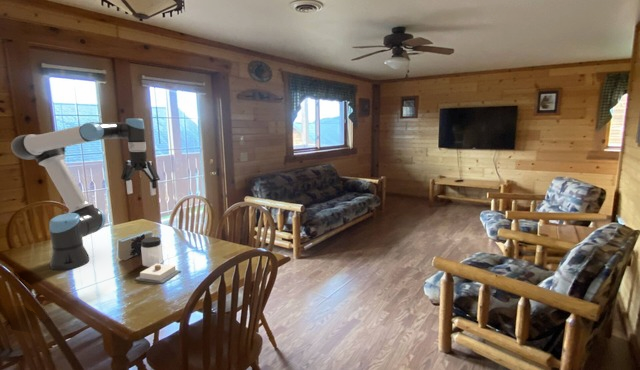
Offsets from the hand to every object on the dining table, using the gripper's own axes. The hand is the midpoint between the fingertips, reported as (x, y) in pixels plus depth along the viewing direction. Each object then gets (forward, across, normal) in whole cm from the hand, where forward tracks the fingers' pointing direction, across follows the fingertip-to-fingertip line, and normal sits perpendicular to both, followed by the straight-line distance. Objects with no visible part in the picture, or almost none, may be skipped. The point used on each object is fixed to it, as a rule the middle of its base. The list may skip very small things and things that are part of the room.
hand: (141, 194), depth 170 cm
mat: (+32, +22, -19) cm, 43 cm away
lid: (+31, +22, -19) cm, 42 cm away
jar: (+32, +10, -8) cm, 34 cm away
